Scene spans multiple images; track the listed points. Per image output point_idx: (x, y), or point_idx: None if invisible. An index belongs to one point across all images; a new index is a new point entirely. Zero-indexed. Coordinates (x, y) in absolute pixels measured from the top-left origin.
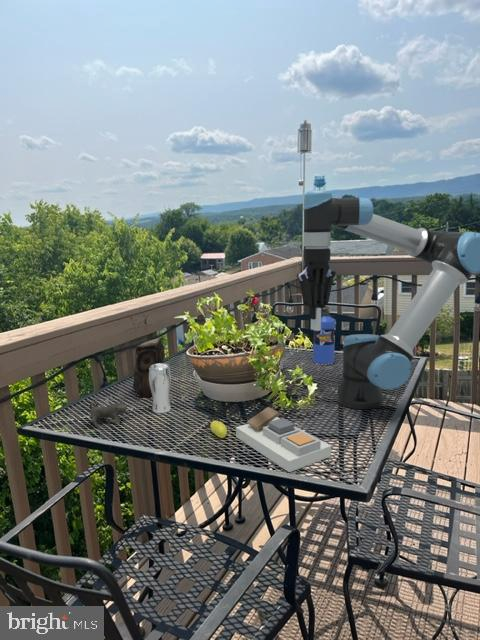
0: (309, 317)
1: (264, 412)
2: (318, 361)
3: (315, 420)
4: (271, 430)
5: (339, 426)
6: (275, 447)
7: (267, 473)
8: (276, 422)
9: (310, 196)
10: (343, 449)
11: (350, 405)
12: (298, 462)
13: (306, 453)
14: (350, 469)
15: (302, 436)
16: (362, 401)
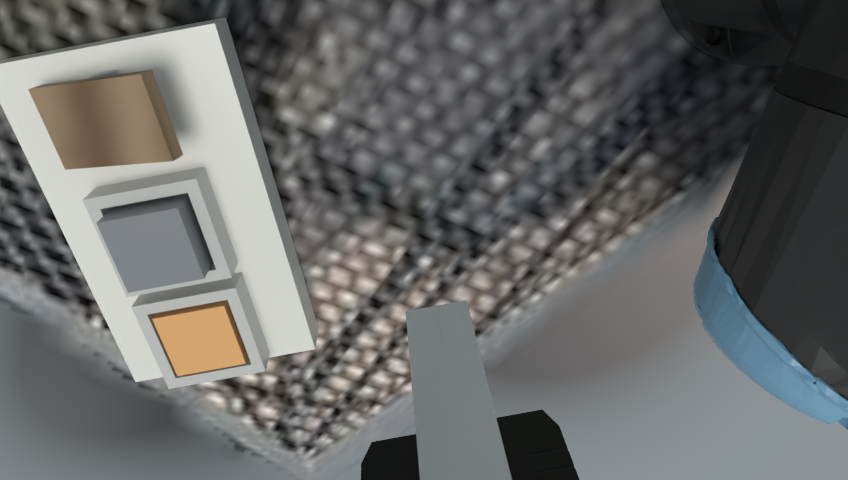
0: (363, 460)
1: (113, 101)
2: None
3: (428, 54)
4: None
5: (484, 151)
6: (117, 294)
7: (78, 340)
8: (132, 238)
9: None
10: (383, 304)
11: (667, 5)
12: None
13: None
14: (332, 399)
15: (214, 330)
16: (717, 46)
